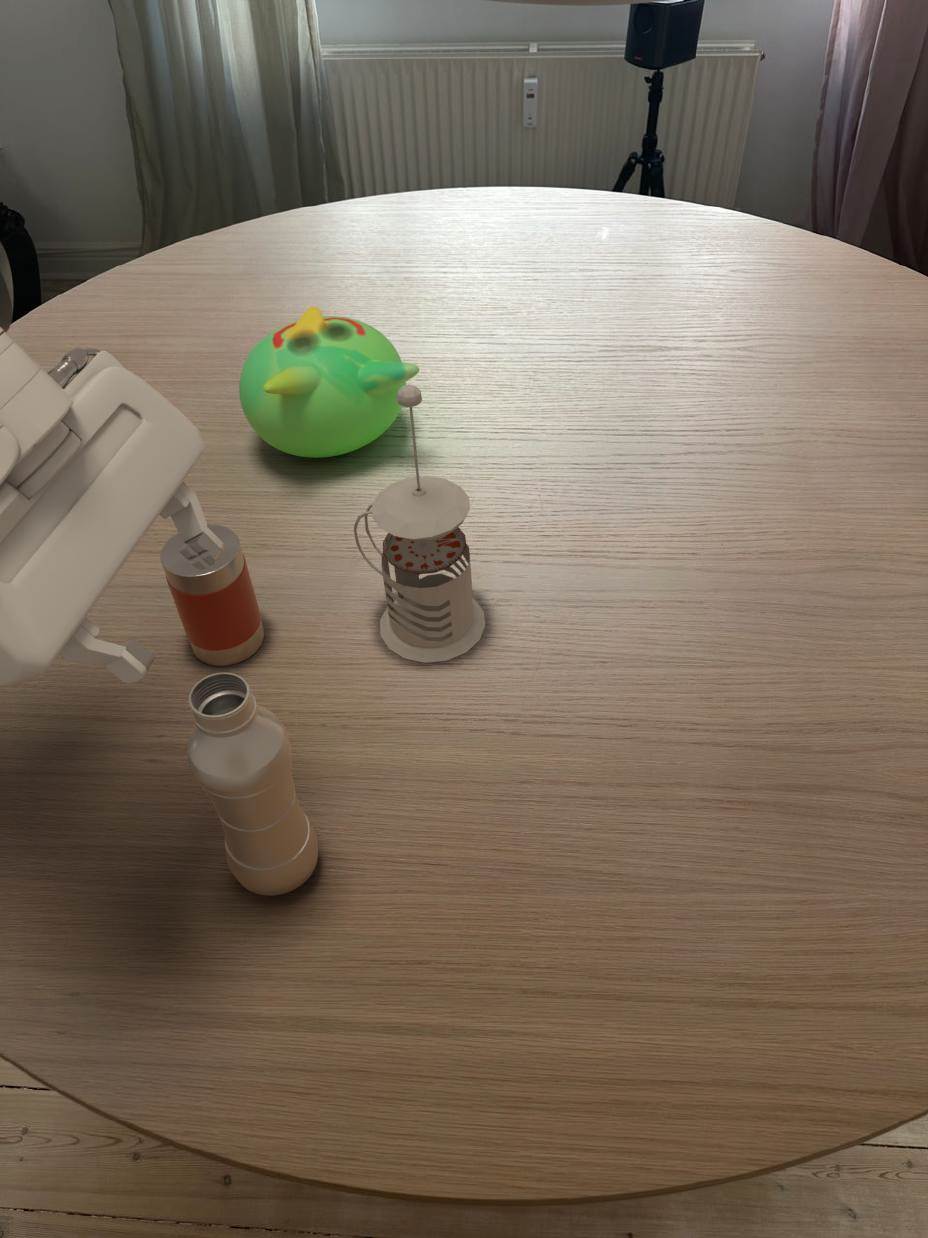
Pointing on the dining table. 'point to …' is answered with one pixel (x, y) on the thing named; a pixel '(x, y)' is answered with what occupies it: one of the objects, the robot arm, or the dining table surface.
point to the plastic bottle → (250, 785)
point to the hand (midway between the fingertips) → (180, 612)
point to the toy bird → (322, 385)
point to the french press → (424, 563)
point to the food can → (215, 601)
